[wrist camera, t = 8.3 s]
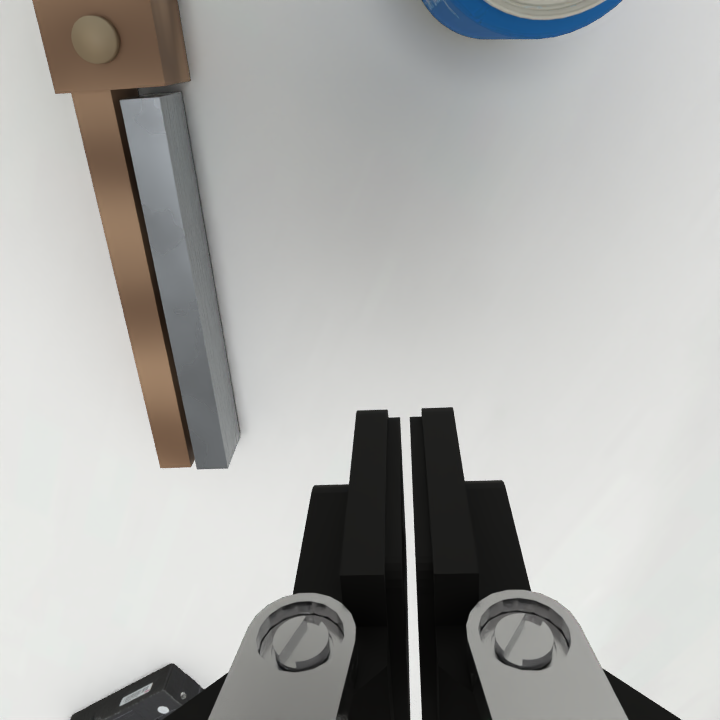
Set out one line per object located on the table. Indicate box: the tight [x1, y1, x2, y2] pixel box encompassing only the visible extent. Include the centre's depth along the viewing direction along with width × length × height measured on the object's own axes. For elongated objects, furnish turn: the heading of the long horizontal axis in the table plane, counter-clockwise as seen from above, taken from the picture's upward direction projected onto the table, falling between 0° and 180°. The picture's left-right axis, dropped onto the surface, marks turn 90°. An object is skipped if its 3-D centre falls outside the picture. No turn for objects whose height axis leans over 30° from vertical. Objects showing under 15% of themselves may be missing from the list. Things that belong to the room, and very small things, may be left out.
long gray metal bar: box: [120, 92, 240, 469], centre depth 31 cm, size 18×2×3 cm, turn 4°
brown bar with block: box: [32, 0, 195, 468], centre depth 30 cm, size 22×4×4 cm, turn 4°
